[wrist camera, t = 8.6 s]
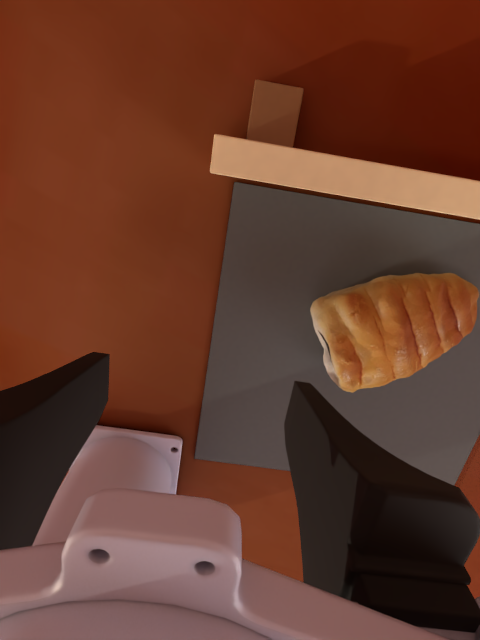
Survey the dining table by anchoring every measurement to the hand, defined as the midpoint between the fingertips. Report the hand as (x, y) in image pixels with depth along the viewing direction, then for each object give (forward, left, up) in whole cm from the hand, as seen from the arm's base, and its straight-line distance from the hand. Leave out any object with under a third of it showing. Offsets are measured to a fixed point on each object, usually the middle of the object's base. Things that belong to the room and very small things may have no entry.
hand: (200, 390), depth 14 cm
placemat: (-2, -10, -9) cm, 14 cm away
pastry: (+1, -10, -10) cm, 14 cm away
